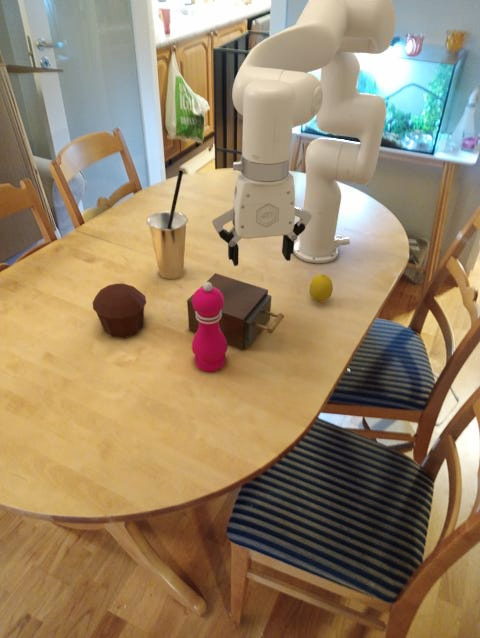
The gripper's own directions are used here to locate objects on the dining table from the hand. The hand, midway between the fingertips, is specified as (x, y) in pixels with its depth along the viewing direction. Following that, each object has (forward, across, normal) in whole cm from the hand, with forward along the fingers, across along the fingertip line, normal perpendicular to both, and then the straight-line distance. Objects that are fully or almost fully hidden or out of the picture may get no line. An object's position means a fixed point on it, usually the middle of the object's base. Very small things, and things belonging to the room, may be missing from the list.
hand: (260, 259), depth 86 cm
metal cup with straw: (+24, -14, +35) cm, 44 cm away
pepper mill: (+24, -10, 0) cm, 26 cm away
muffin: (+24, -27, +15) cm, 40 cm away
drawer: (+23, -1, +9) cm, 25 cm away
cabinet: (+24, -4, +11) cm, 27 cm away
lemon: (+24, +20, +16) cm, 35 cm away
